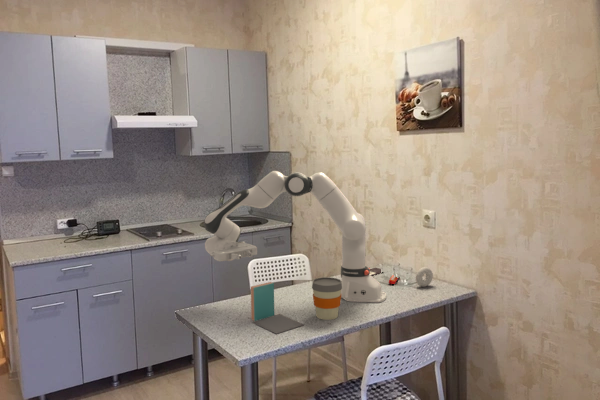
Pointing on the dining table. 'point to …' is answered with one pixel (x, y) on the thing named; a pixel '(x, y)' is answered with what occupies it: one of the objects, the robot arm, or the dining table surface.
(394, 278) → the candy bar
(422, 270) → the donut
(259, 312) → the tile
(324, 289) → the reusable coffee cup
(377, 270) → the chocolate bar
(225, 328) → the dining table surface
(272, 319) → the mat
